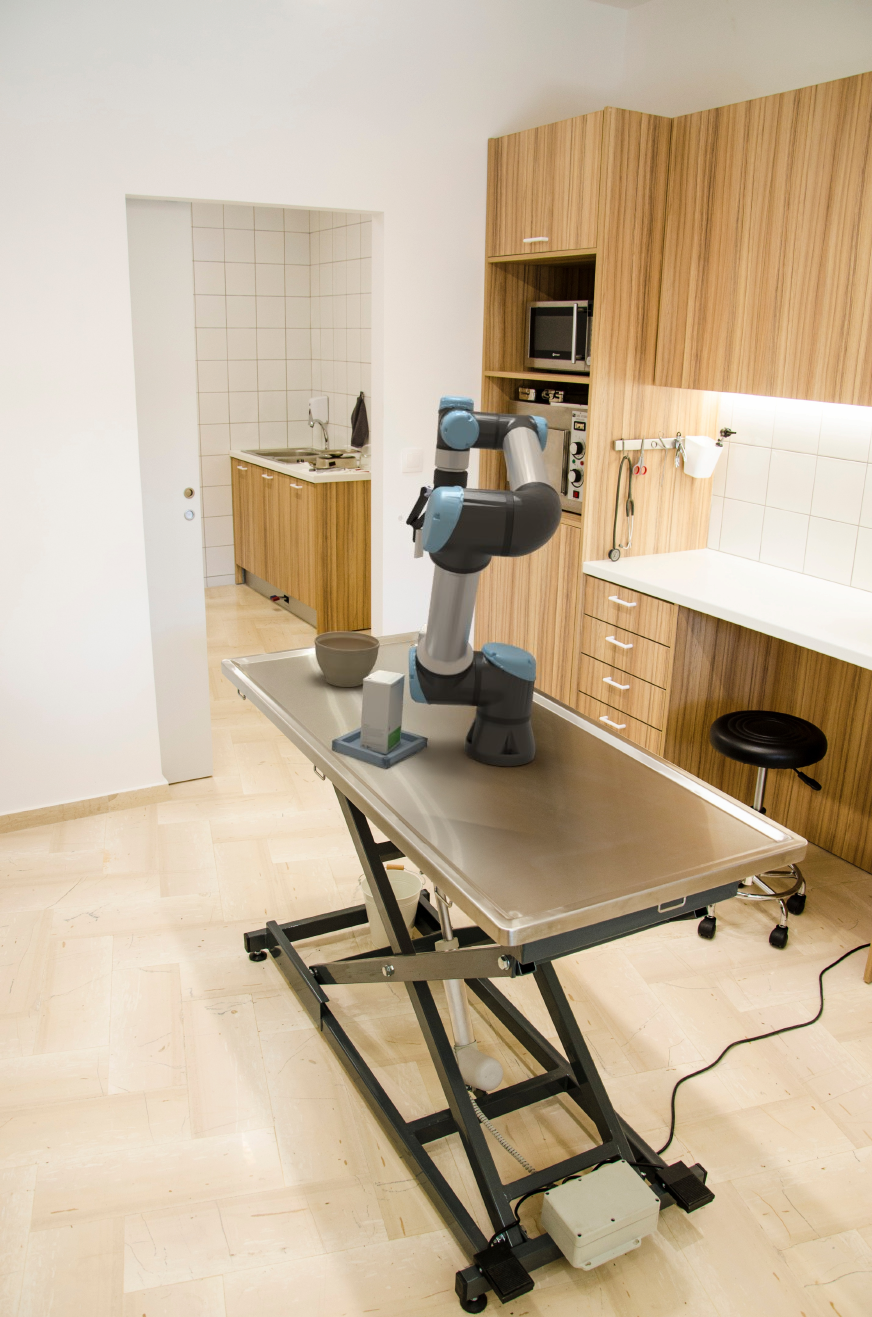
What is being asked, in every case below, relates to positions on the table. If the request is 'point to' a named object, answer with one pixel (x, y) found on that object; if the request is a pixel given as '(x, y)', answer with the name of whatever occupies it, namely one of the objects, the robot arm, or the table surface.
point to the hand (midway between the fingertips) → (443, 562)
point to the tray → (405, 749)
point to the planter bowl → (346, 656)
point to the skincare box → (382, 711)
